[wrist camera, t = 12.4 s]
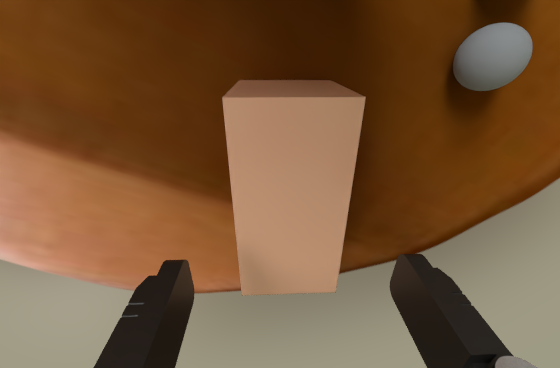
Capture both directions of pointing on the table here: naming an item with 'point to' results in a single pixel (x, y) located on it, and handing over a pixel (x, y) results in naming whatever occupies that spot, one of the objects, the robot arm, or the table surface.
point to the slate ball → (492, 56)
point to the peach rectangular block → (291, 180)
